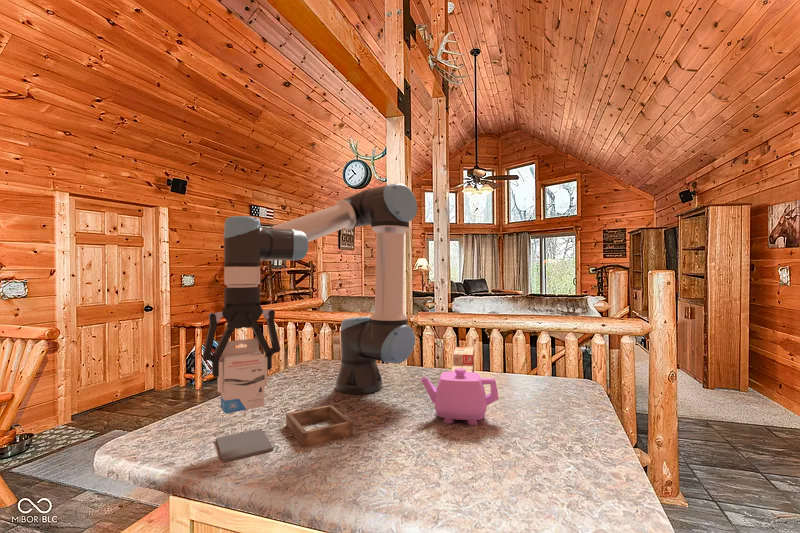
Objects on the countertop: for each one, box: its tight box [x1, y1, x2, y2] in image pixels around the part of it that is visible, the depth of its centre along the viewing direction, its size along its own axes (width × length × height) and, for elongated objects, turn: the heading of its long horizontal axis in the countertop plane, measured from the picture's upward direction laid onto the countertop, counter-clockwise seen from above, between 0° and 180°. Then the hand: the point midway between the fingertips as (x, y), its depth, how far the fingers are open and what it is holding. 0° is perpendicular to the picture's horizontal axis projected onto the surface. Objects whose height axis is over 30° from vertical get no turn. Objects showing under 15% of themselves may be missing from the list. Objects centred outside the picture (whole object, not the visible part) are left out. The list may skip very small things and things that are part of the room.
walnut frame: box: [285, 404, 354, 448], centre depth 96 cm, size 12×14×3 cm
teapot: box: [420, 368, 499, 426], centre depth 104 cm, size 20×12×13 cm, turn 80°
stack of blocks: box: [450, 346, 475, 373], centre depth 125 cm, size 21×6×12 cm, turn 168°
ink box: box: [220, 337, 266, 415], centre depth 88 cm, size 8×5×15 cm, turn 123°
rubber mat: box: [215, 428, 274, 463], centre depth 88 cm, size 10×12×1 cm
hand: (242, 387), depth 88 cm, fingers closed on ink box, 8 cm apart
